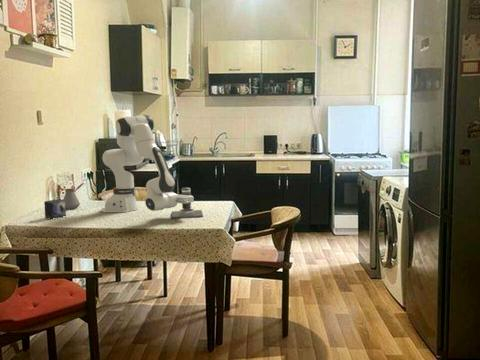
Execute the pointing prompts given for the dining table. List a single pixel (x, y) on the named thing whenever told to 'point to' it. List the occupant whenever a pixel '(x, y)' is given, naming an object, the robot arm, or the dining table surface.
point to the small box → (55, 208)
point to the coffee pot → (71, 198)
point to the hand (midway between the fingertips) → (187, 196)
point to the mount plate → (187, 213)
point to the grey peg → (186, 192)
